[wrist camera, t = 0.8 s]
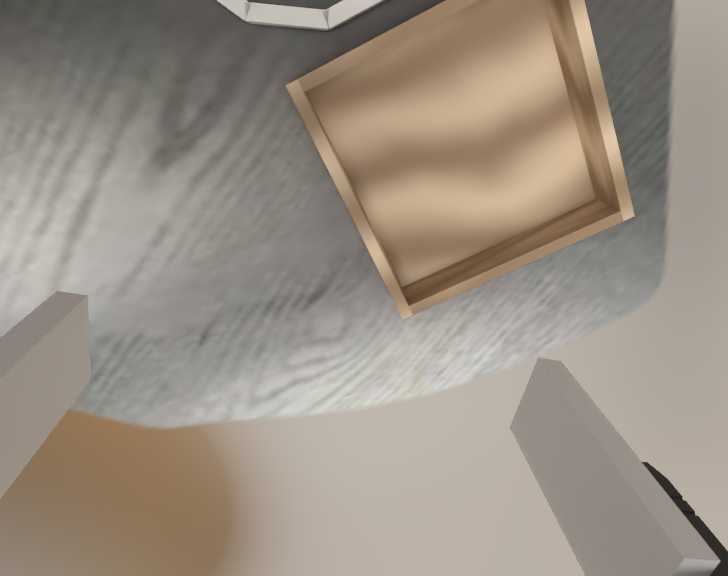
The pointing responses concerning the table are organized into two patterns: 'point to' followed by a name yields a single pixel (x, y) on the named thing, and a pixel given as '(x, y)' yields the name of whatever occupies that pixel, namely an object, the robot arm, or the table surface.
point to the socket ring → (299, 13)
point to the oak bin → (469, 142)
